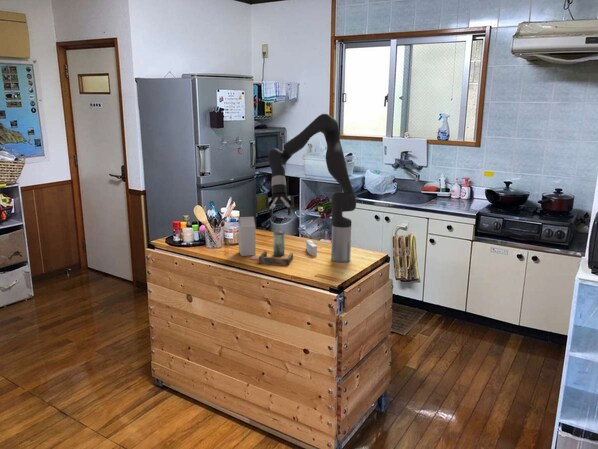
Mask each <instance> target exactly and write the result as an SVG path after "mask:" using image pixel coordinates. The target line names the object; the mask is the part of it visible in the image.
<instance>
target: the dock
mask: <svg viewBox="0 0 598 449" xmlns="http://www.w3.org/2000/svg"><path fill="white" fill-rule="evenodd" d="M267 254H268V252H267V250H264V251H263V252H262V253H261V254H260V255H259V256H260V257H259V260H258V264H264V265H277V266H278V265H281V266H289V265H290V264H291V262H292V261H293V260H294V253H292V252H290V254H288V256H287V258H285V257H275V256H274V257H271V256H267Z"/></svg>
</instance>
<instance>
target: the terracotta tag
mask: <svg viewBox="0 0 598 449" xmlns="http://www.w3.org/2000/svg"><path fill="white" fill-rule="evenodd" d="M259 257H260V255H251V256H250V258H249V260H254V261H259Z"/></svg>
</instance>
